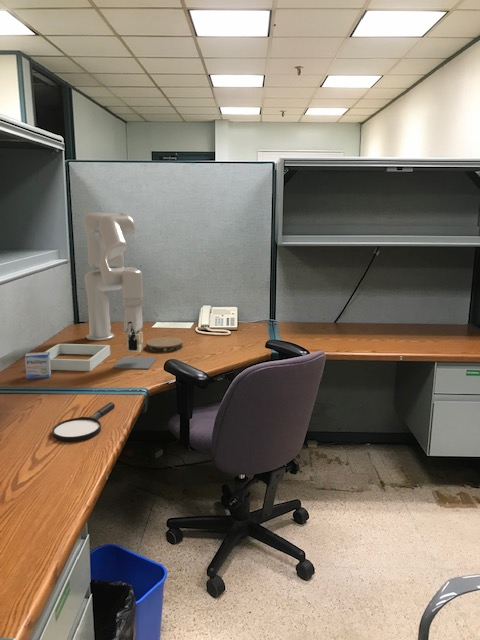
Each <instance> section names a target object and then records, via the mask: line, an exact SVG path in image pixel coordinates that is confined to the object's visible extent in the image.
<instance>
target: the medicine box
mask: <svg viewBox="0 0 480 640" xmlns="http://www.w3.org/2000/svg"><path fill="white" fill-rule="evenodd" d="M24 363H25V364H24V365H25V376H26V377H25V378H26V380H35V379H36V380H37V379H48V378H50V377H51V374H52V370H51V368H50V354H49V352H45V351H44V352H26V354H25V356H24Z"/></svg>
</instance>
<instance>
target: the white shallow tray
mask: <svg viewBox="0 0 480 640" xmlns="http://www.w3.org/2000/svg"><path fill="white" fill-rule="evenodd" d="M44 352H49V354H50V368H51V371H54V370H55V371H80V372H91V371H93V370H94V369H95V368H96V367H97V366H98V365H100V363H102V362H103V361H104V360H105V359H106V358H108V357H109V356H111V346H110V344H85V343H84V344H81V343H79V344H78V343H76V344H75V343H57V344H56V345H54V346H52V347H51V348H49V349H47V350H45V351H44ZM63 354H67V355H92V356H91V357H90V358H89V359H75V358H73V359H67V358H56V357H57V356H59V355H63Z"/></svg>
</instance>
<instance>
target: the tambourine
mask: <svg viewBox="0 0 480 640" xmlns="http://www.w3.org/2000/svg"><path fill="white" fill-rule="evenodd" d="M145 343H146V344H145V346H146V347H145V349H146V350H147V351H148V352H152V353H165V354H166V353H173V352H178V351H180V350H182V349H183V348H182V347H184V346H183V339H180V338H177V337H173V336H171V337H169V336H165V337H164V336H163V337H154V338H150V339H148V340H146V341H145ZM181 348H182V349H181ZM177 350H178V351H177Z"/></svg>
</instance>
